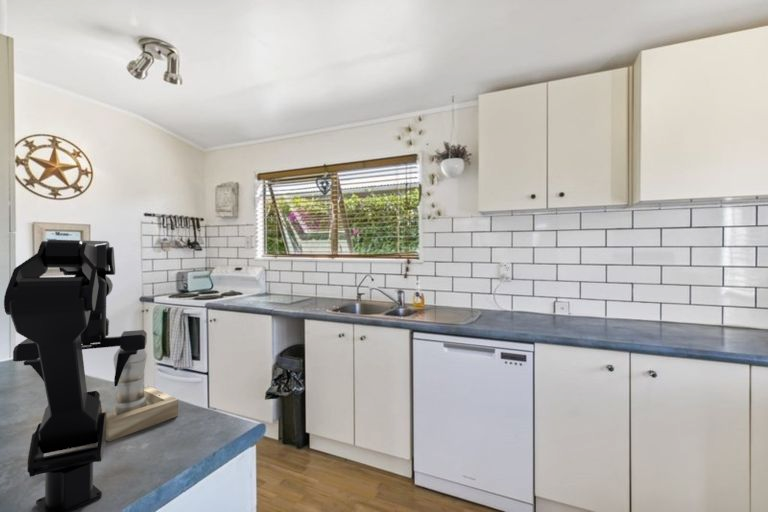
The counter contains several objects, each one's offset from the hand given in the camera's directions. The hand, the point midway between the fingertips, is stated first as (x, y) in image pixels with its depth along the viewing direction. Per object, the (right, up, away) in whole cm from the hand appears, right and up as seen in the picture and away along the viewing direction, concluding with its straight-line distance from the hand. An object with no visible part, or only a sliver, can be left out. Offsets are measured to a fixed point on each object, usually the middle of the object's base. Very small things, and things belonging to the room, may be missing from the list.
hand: (85, 389), depth 68 cm
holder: (-2, -13, +16) cm, 20 cm away
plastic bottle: (-3, -13, +16) cm, 20 cm away
